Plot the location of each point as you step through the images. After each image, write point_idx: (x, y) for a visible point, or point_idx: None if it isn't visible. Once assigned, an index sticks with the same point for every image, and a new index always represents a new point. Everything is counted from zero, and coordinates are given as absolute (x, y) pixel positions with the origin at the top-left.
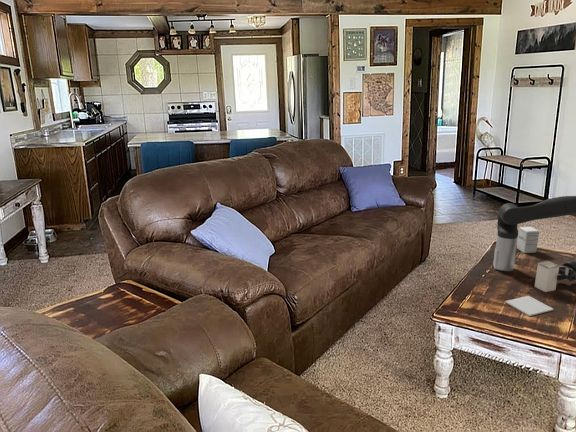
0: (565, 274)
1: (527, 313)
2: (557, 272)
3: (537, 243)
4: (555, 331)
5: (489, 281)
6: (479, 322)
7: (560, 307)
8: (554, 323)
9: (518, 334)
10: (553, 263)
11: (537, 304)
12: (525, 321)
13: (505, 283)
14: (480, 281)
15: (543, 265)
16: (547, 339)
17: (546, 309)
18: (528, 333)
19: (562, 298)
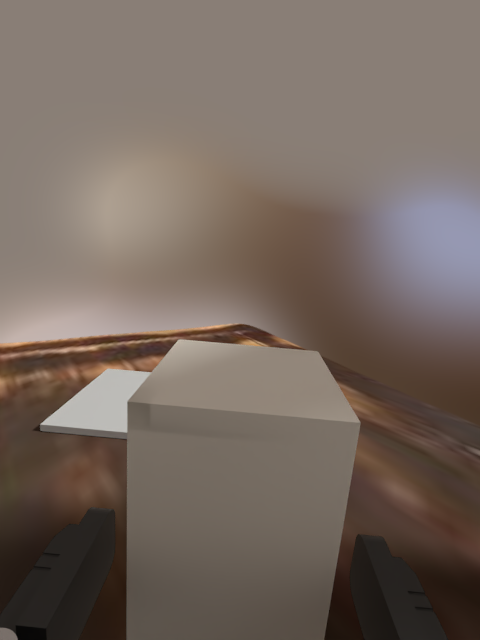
0: (5, 631)
1: (117, 370)
2: (132, 497)
3: None
4: (7, 364)
5: (407, 439)
6: (179, 331)
7: (6, 469)
8: (17, 382)
9: (93, 336)
10: (231, 401)
11: (119, 413)
12: (104, 359)
13: (377, 471)
14: (407, 420)
15: (248, 348)
16: (23, 345)
17: (69, 407)
18: (75, 342)
19: (5, 586)
